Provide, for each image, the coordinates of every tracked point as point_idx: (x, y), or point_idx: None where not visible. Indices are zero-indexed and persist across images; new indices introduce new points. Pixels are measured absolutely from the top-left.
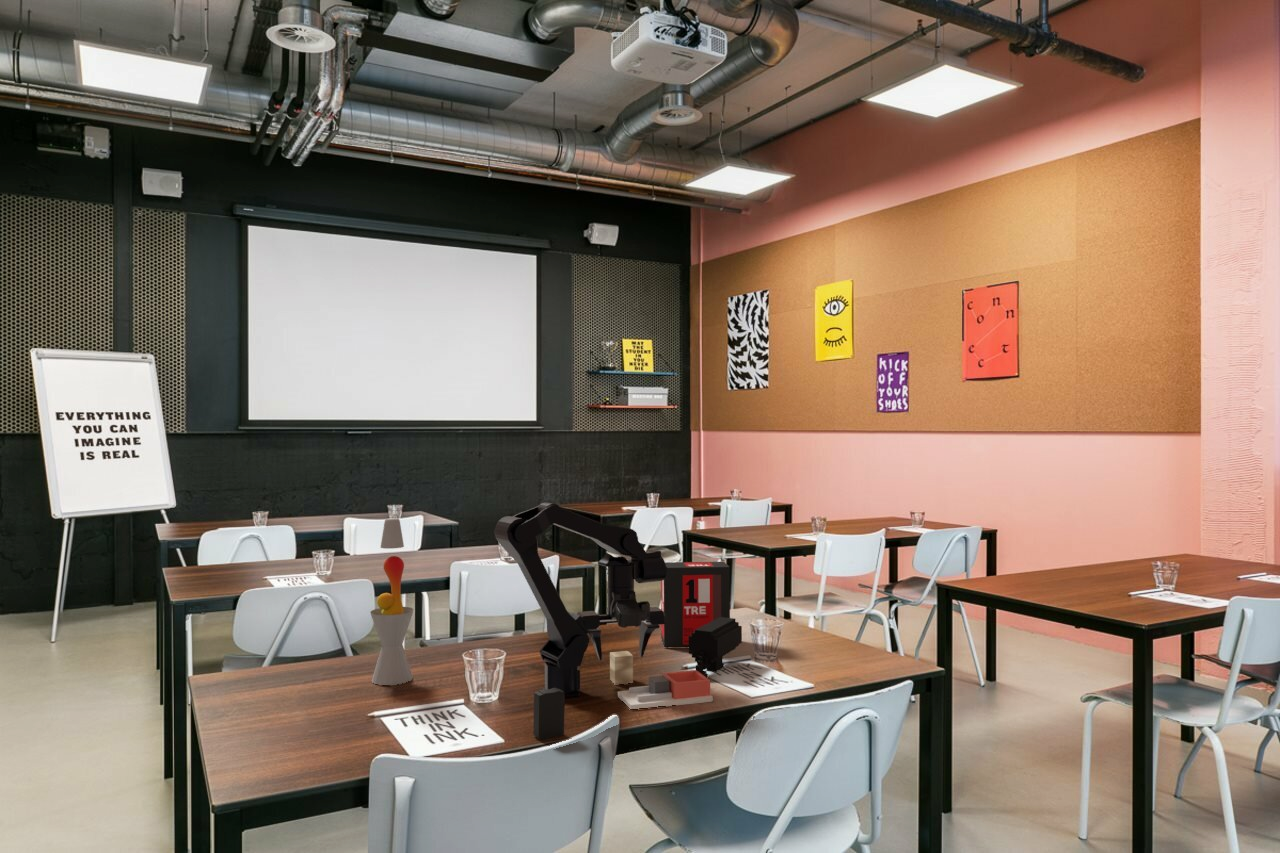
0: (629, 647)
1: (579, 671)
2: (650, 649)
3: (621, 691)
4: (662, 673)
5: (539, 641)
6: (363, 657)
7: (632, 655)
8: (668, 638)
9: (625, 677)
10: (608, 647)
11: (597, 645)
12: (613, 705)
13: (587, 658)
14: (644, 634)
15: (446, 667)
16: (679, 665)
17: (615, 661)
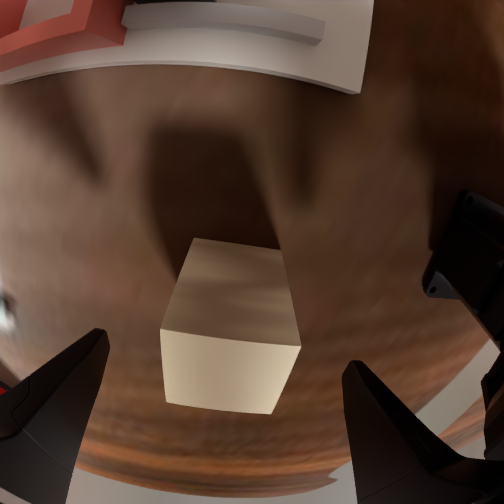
0: (126, 448)
1: (500, 258)
2: (86, 426)
3: (344, 80)
4: (82, 26)
5: (268, 488)
6: (460, 446)
7: (163, 328)
8: None
9: (228, 258)
10: (166, 461)
11: (414, 422)
12: (410, 18)
13: (233, 447)
14: (22, 430)
15: (450, 428)
16: (21, 328)
17: (292, 323)
